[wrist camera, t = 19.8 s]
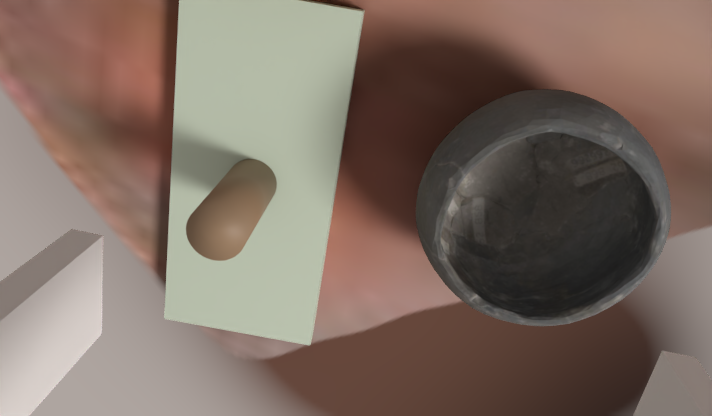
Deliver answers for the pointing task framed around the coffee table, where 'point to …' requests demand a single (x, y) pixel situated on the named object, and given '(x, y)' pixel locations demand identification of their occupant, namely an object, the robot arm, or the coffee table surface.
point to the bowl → (543, 208)
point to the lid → (256, 160)
